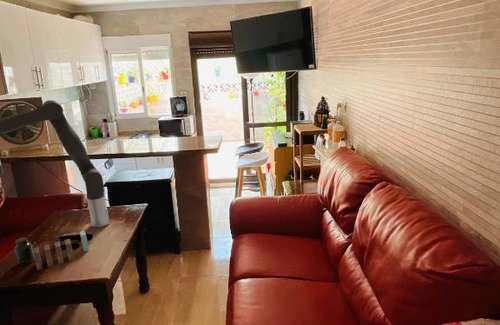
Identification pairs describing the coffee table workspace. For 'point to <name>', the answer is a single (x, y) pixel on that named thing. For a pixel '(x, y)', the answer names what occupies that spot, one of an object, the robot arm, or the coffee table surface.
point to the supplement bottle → (24, 251)
